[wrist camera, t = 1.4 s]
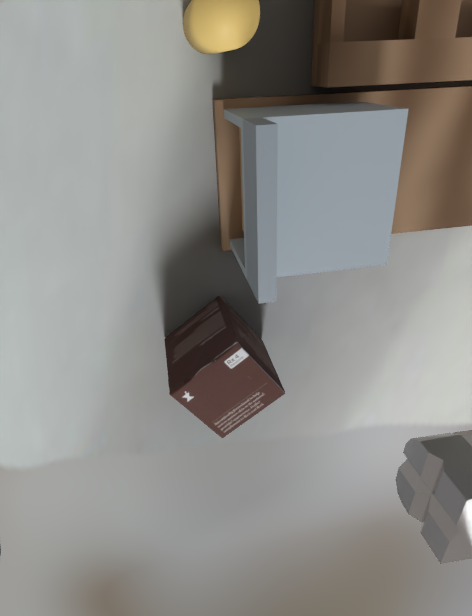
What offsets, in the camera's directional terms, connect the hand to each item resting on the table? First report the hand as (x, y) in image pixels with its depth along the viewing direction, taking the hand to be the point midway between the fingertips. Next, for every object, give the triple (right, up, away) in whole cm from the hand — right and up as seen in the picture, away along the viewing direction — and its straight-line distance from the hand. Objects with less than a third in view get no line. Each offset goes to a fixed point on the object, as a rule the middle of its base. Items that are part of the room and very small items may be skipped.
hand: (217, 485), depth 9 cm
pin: (-1, +20, +18) cm, 27 cm away
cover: (+4, +12, +21) cm, 25 cm away
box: (-2, +1, +28) cm, 28 cm away
